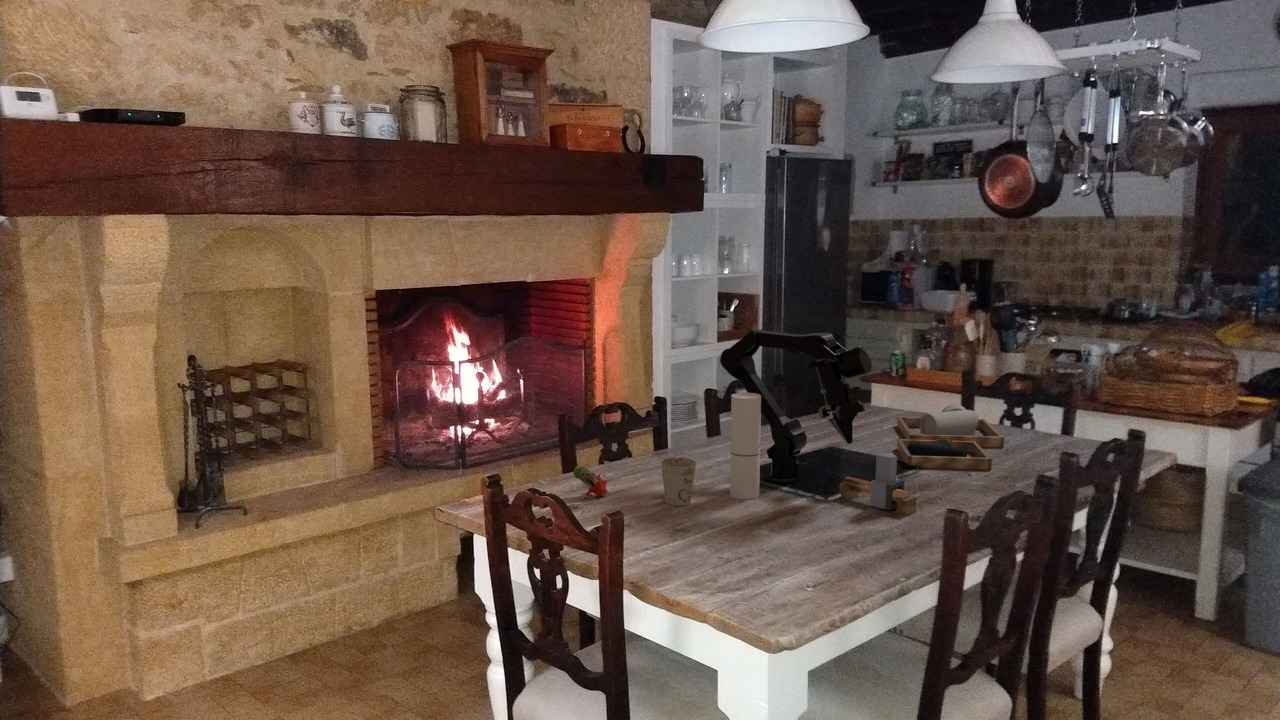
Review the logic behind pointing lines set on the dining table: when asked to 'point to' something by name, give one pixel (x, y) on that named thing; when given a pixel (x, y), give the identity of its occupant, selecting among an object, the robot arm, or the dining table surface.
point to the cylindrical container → (745, 445)
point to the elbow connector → (950, 422)
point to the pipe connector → (936, 449)
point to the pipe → (866, 488)
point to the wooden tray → (976, 462)
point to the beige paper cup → (678, 480)
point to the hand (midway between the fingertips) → (850, 443)
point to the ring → (889, 493)
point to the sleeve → (883, 478)
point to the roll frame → (983, 441)
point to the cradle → (903, 505)
